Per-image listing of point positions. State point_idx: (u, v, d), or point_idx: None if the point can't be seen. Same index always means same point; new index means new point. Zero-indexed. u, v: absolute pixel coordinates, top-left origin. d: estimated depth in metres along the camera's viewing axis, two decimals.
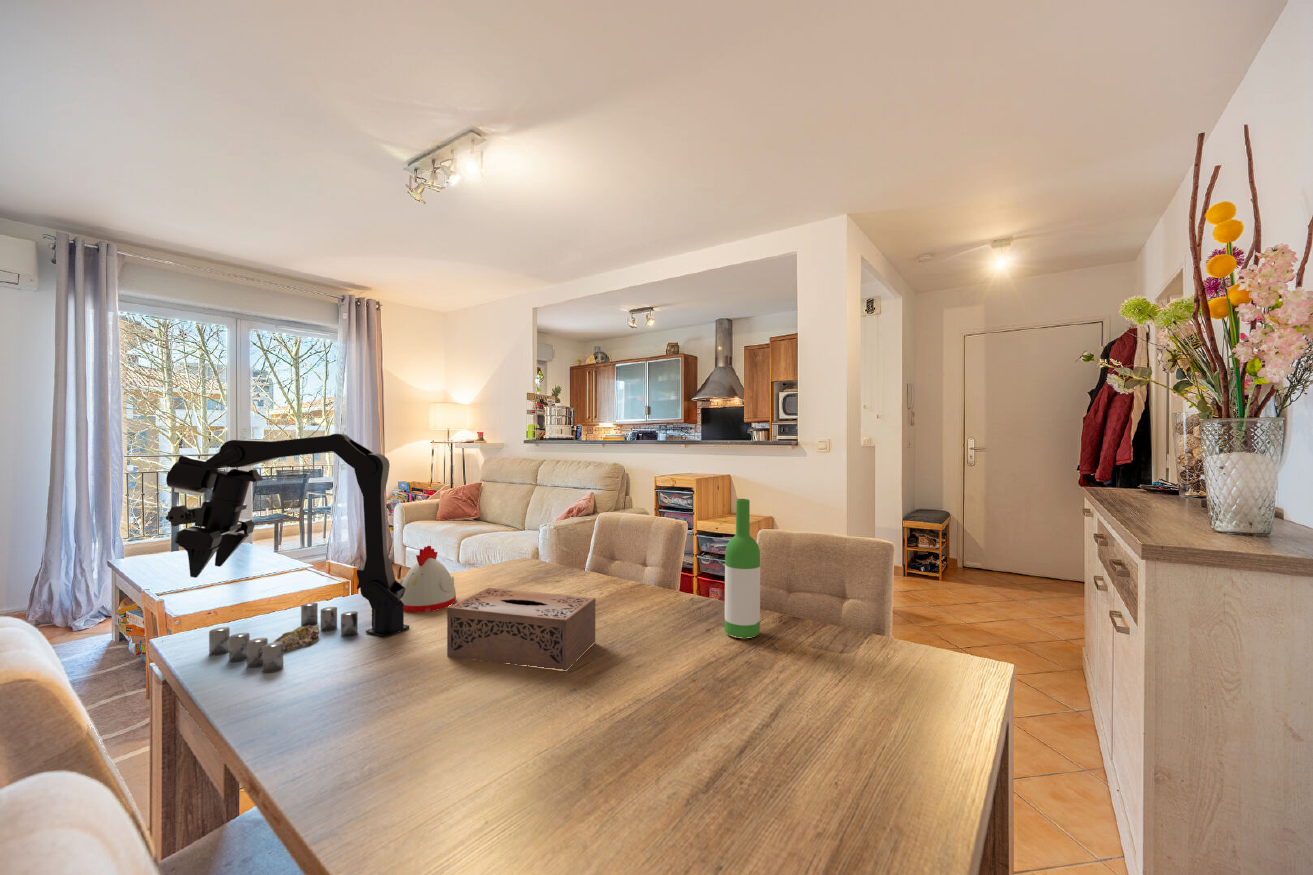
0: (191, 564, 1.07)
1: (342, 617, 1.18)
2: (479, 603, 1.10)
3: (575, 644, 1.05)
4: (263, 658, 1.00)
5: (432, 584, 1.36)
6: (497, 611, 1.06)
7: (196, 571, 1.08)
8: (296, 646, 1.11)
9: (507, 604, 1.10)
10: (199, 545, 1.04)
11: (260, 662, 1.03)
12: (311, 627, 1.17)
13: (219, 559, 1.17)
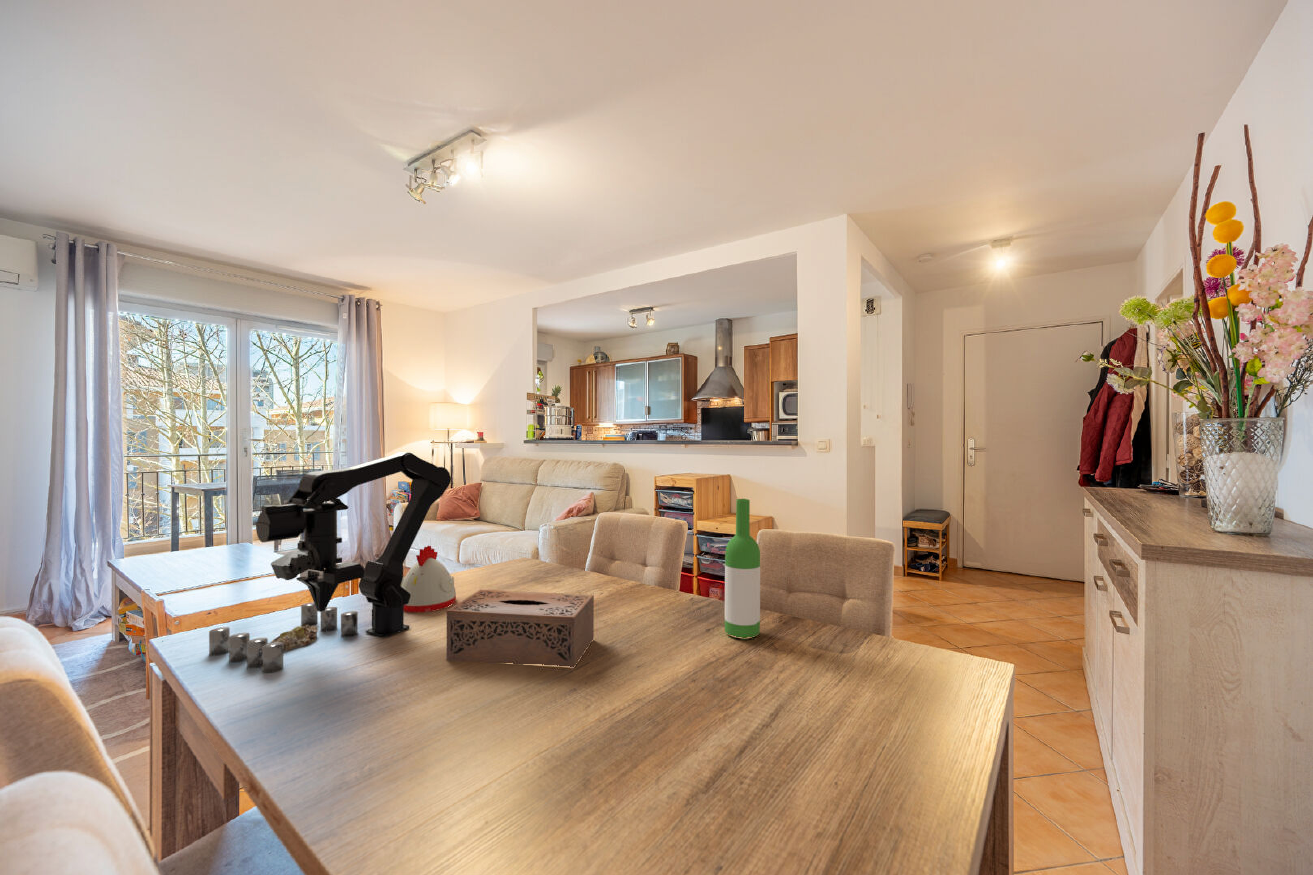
0: (322, 599, 1.09)
1: (342, 617, 1.18)
2: (478, 605, 1.09)
3: (580, 641, 1.07)
4: (263, 658, 1.00)
5: (432, 584, 1.36)
6: (500, 611, 1.05)
7: (325, 604, 1.10)
8: (294, 646, 1.12)
9: (507, 605, 1.09)
10: (358, 576, 1.07)
11: (260, 662, 1.03)
12: (309, 627, 1.17)
13: None
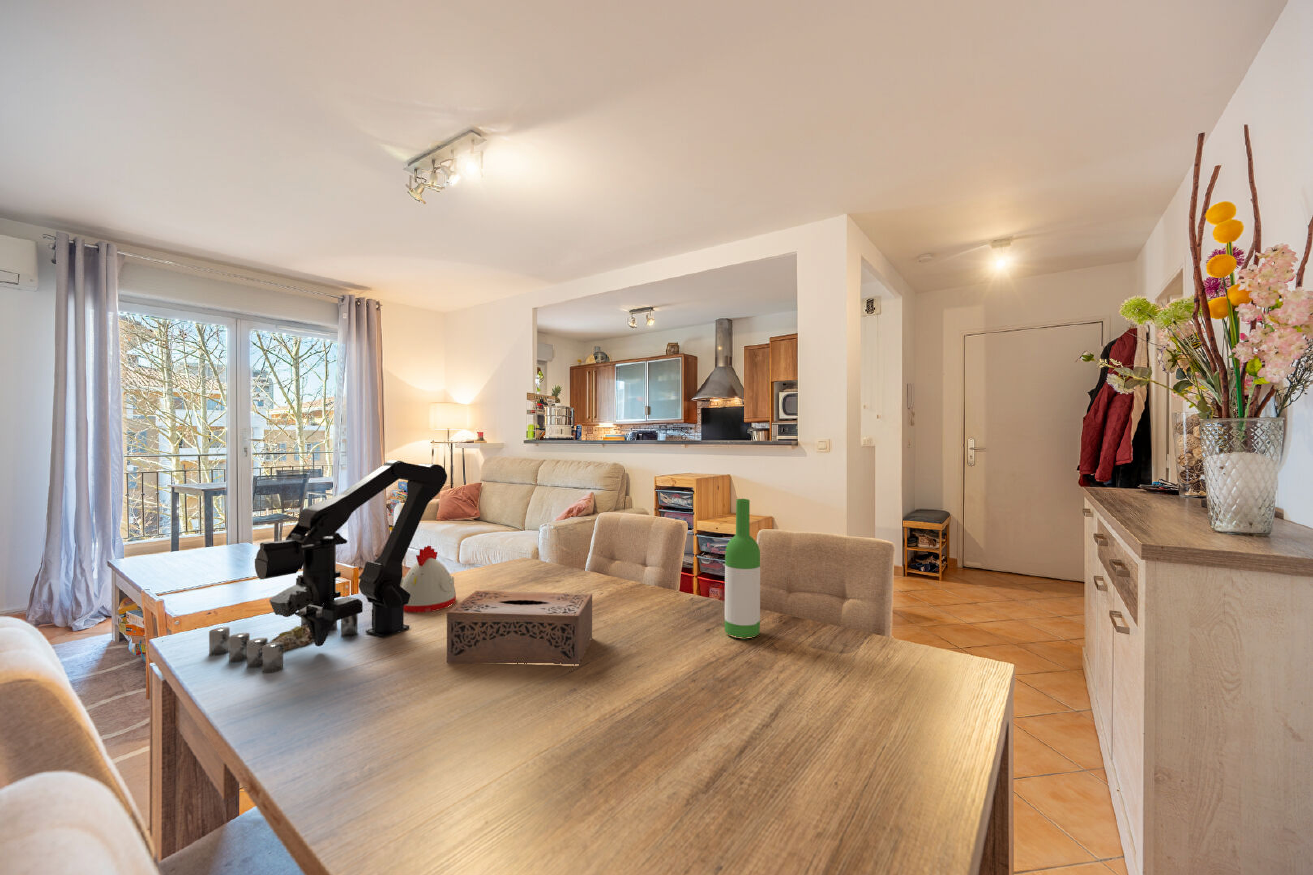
0: (320, 634, 1.09)
1: None
2: (478, 606, 1.09)
3: (582, 639, 1.07)
4: (263, 658, 1.00)
5: (432, 584, 1.36)
6: (502, 612, 1.05)
7: (324, 638, 1.10)
8: (293, 646, 1.12)
9: (508, 605, 1.09)
10: (356, 612, 1.07)
11: (260, 662, 1.03)
12: (308, 627, 1.17)
13: None
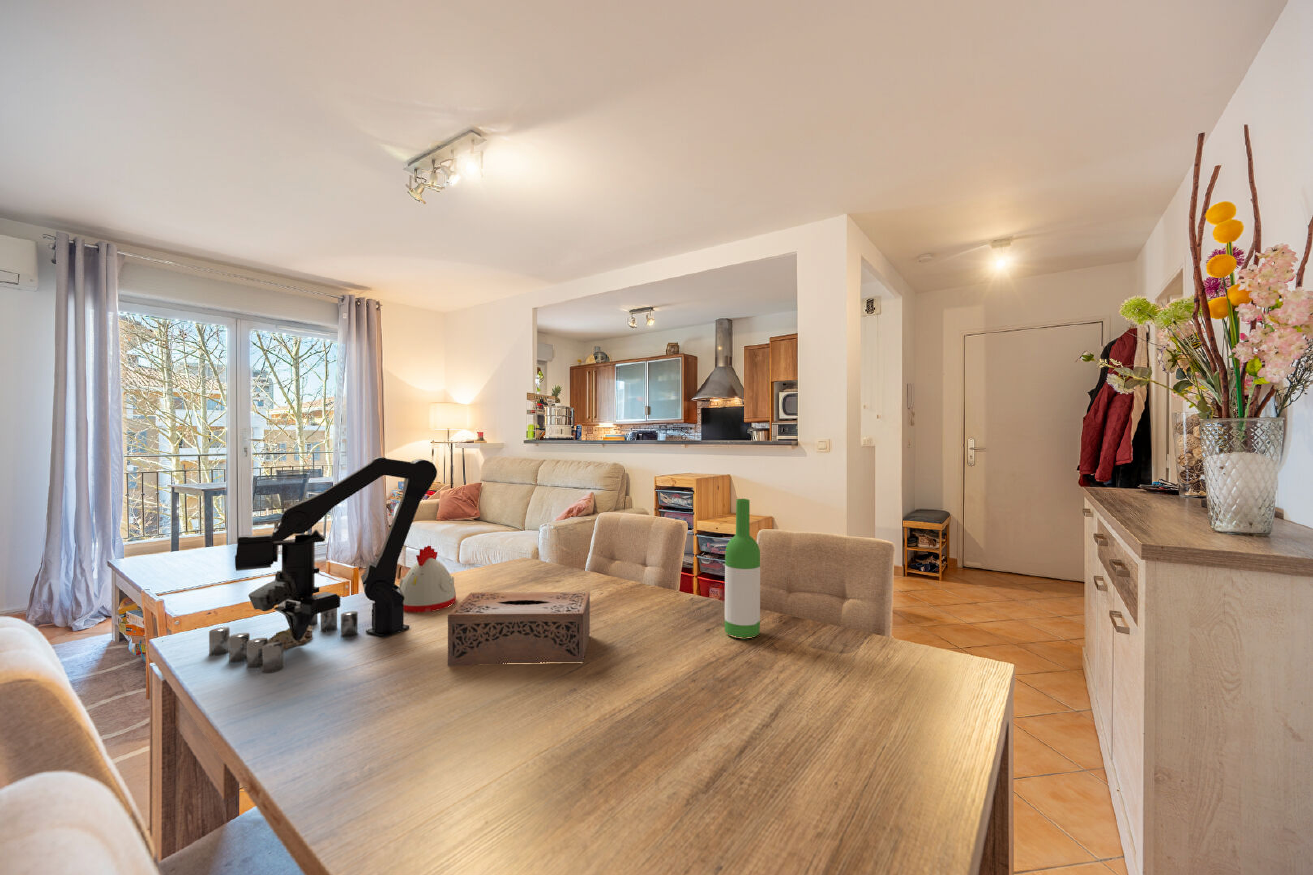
0: (298, 628, 1.12)
1: (342, 617, 1.18)
2: (478, 607, 1.08)
3: (585, 637, 1.09)
4: (263, 658, 1.00)
5: (432, 584, 1.36)
6: (505, 612, 1.05)
7: (302, 633, 1.13)
8: (290, 645, 1.12)
9: (509, 606, 1.09)
10: (334, 606, 1.10)
11: (260, 662, 1.03)
12: None
13: None
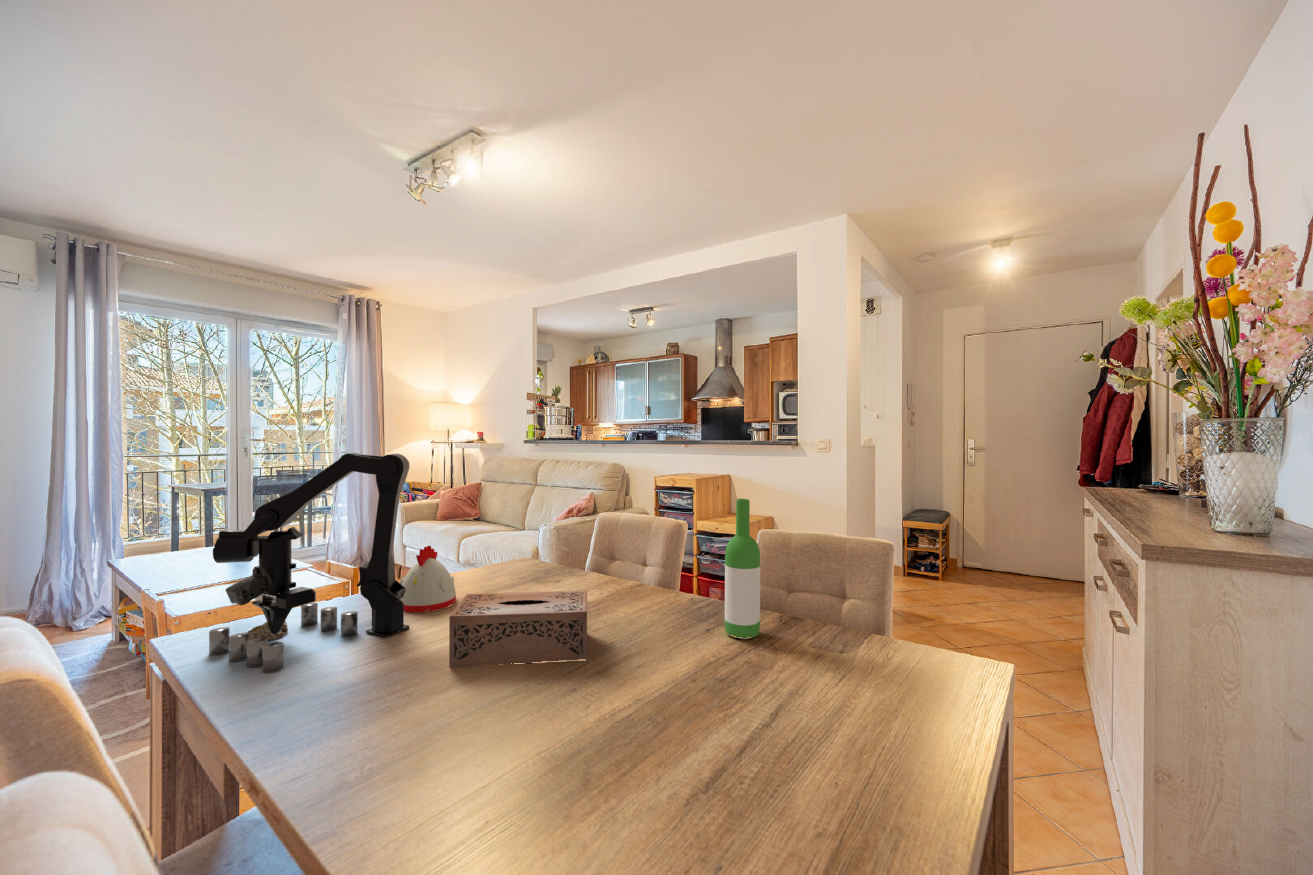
0: (275, 622, 1.15)
1: (342, 617, 1.18)
2: (478, 608, 1.07)
3: None
4: (263, 658, 1.00)
5: (432, 584, 1.36)
6: (507, 612, 1.05)
7: (279, 626, 1.16)
8: (268, 639, 1.15)
9: (509, 606, 1.09)
10: (309, 601, 1.13)
11: (260, 662, 1.03)
12: None
13: None
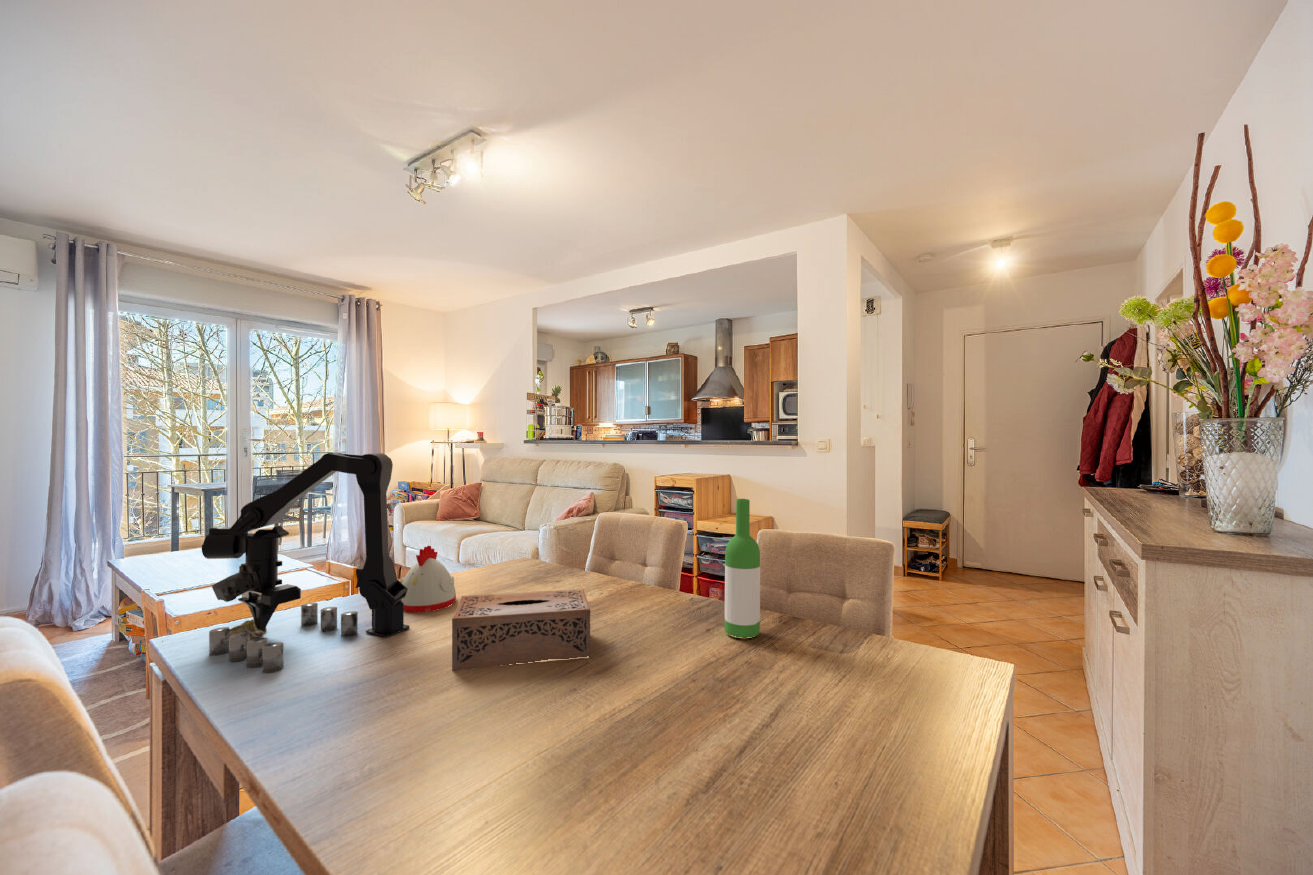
0: (261, 618, 1.17)
1: (342, 617, 1.18)
2: (479, 610, 1.06)
3: None
4: (263, 658, 1.00)
5: (432, 584, 1.36)
6: (511, 613, 1.05)
7: (265, 623, 1.18)
8: None
9: (511, 606, 1.08)
10: (294, 598, 1.15)
11: (260, 662, 1.03)
12: None
13: None
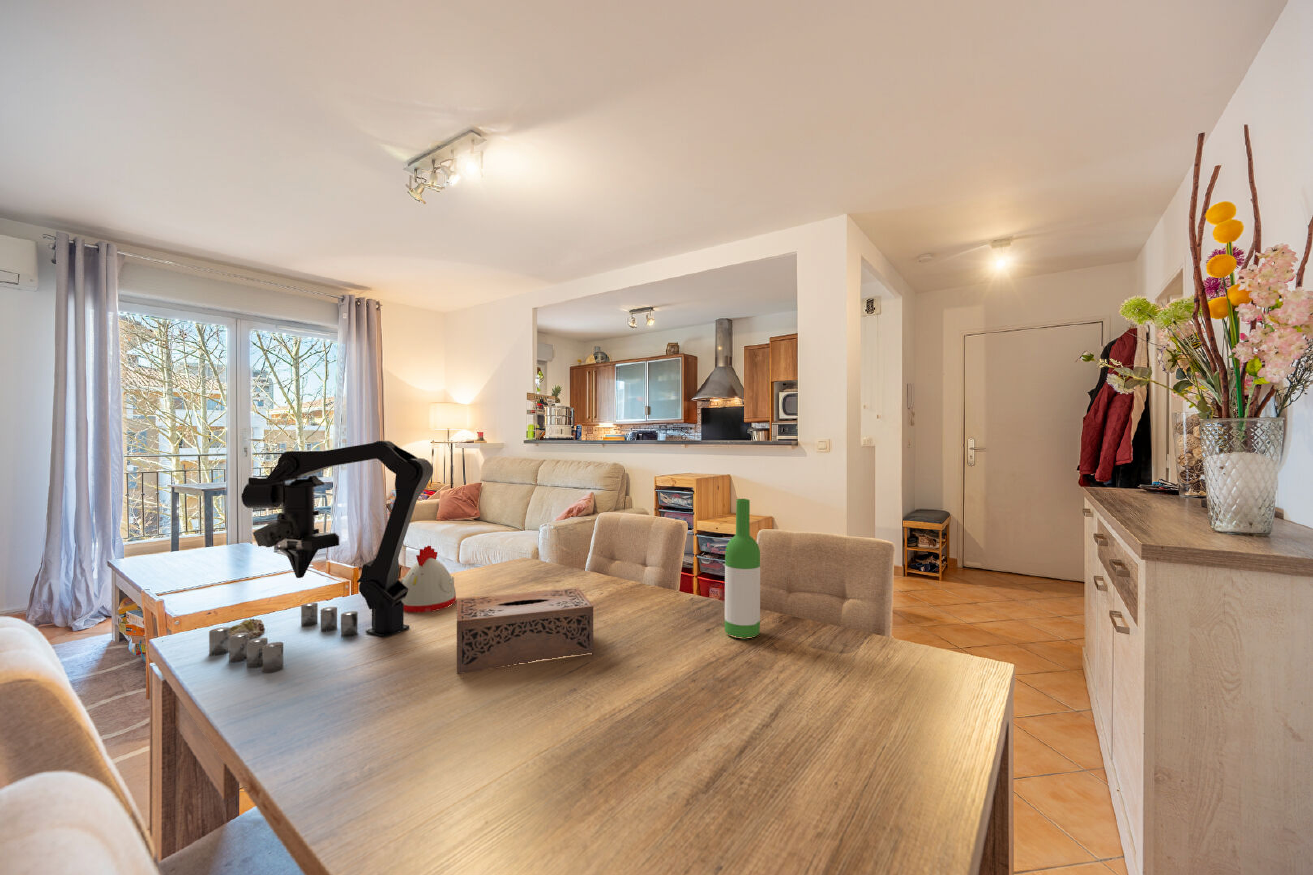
0: (300, 566, 1.19)
1: (342, 617, 1.18)
2: (482, 611, 1.05)
3: None
4: (263, 658, 1.00)
5: (432, 584, 1.36)
6: (515, 613, 1.05)
7: (303, 571, 1.20)
8: None
9: (512, 607, 1.08)
10: (333, 544, 1.17)
11: (260, 662, 1.03)
12: (254, 620, 1.21)
13: None
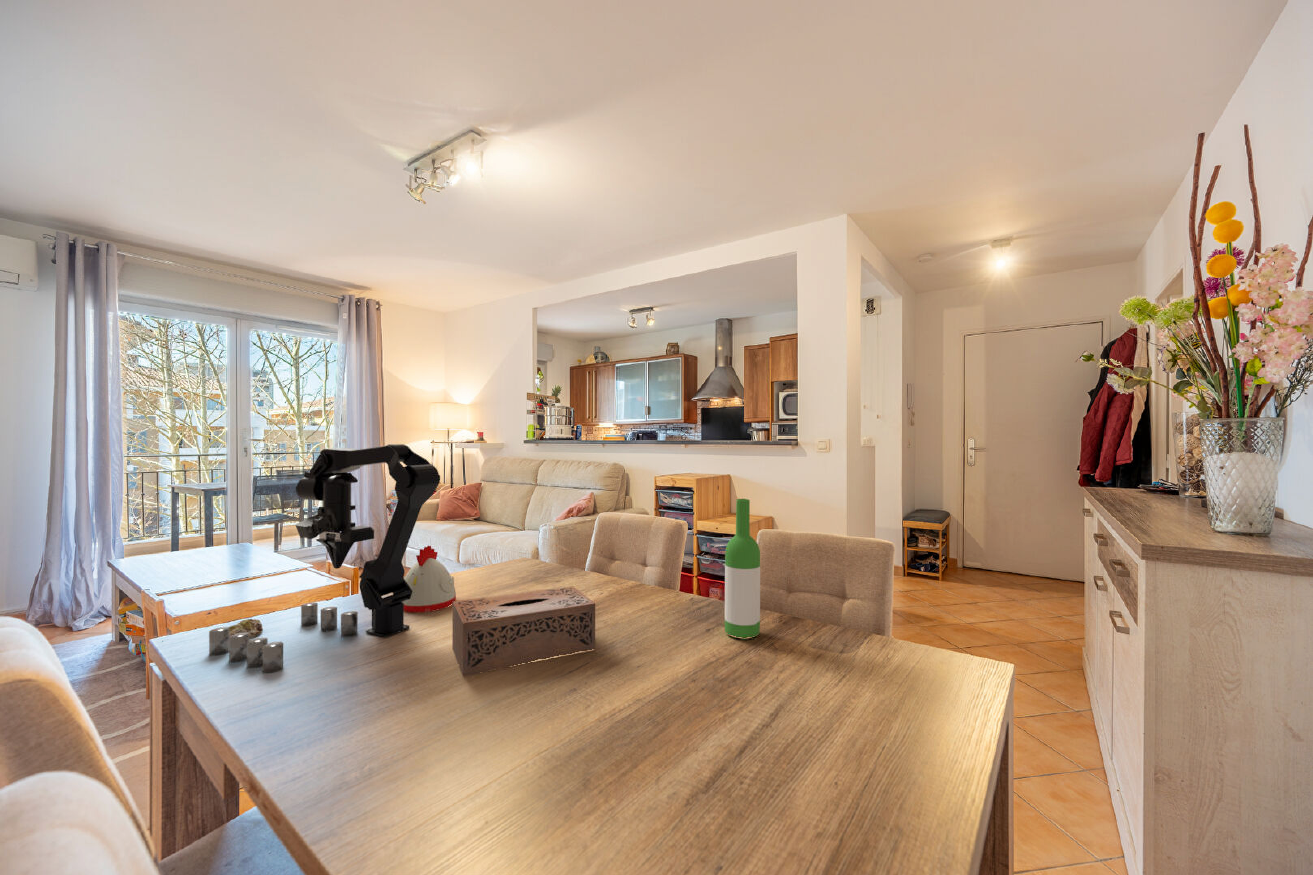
0: (338, 557, 1.26)
1: (342, 617, 1.18)
2: (484, 612, 1.05)
3: None
4: (263, 658, 1.00)
5: (432, 584, 1.36)
6: (520, 613, 1.05)
7: (341, 562, 1.27)
8: None
9: (514, 607, 1.08)
10: (369, 538, 1.24)
11: (260, 662, 1.03)
12: (253, 620, 1.21)
13: None
